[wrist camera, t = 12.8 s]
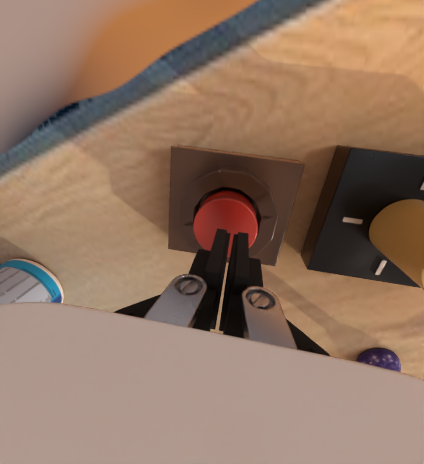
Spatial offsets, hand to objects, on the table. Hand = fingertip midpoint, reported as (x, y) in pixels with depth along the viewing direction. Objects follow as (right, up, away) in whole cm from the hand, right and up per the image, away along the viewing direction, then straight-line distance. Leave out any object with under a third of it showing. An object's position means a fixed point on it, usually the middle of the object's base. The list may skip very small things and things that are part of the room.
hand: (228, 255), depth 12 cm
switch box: (+1, +4, +8) cm, 9 cm away
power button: (0, +2, +5) cm, 5 cm away
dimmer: (+14, +3, +7) cm, 15 cm away
